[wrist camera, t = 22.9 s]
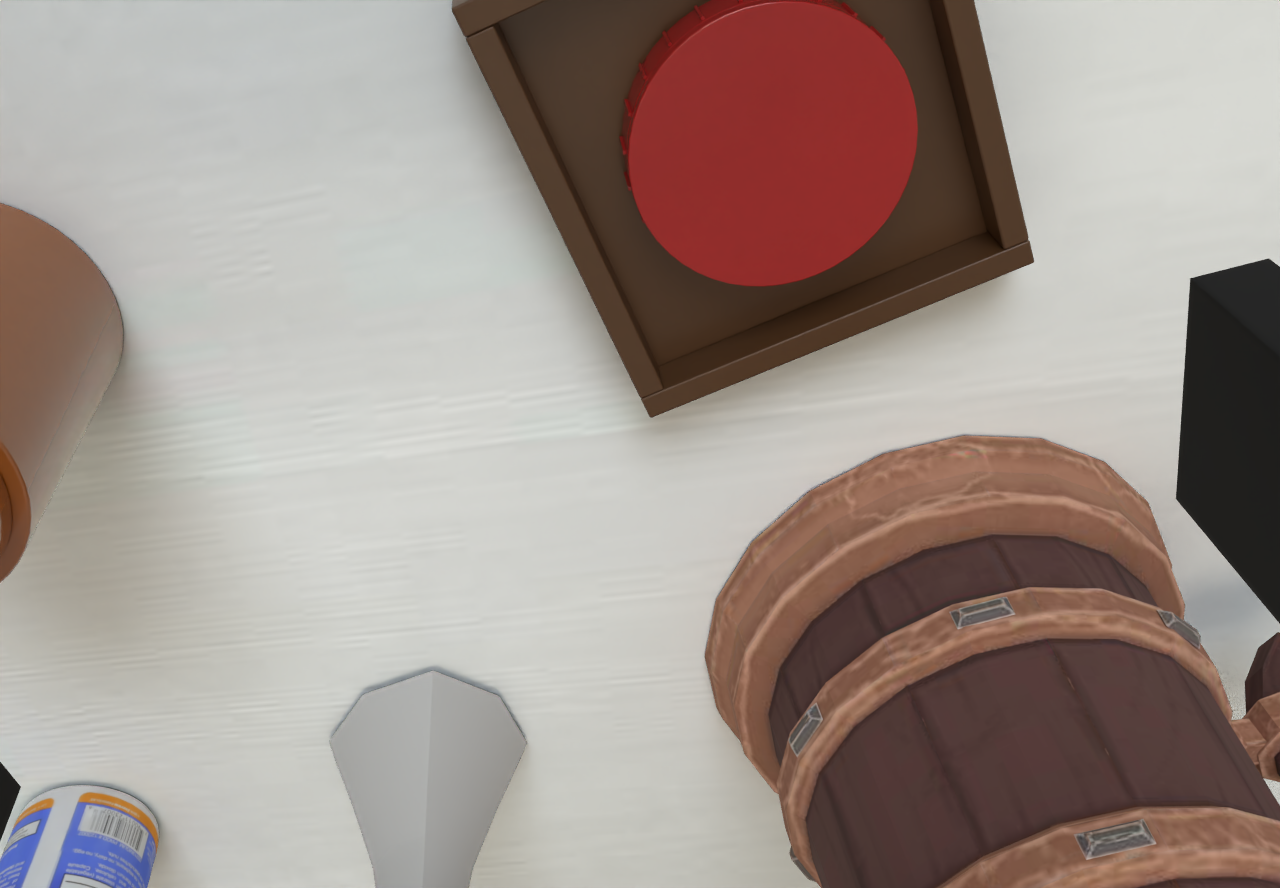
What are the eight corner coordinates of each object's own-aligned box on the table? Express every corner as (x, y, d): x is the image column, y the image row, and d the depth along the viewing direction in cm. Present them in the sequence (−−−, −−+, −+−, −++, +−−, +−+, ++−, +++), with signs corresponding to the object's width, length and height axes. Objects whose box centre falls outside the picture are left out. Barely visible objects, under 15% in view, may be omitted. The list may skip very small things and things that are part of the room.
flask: (558, 737, 48) (575, 965, 39) (425, 822, 49) (414, 1055, 41) (434, 640, 44) (424, 867, 36) (295, 735, 46) (255, 972, 38)
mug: (1210, 751, 53) (1544, 1252, 36) (705, 811, 51) (815, 1365, 35) (1330, 399, 42) (1874, 874, 26) (702, 459, 41) (856, 1008, 24)
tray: (452, -10, 31) (450, 9, 30) (901, -219, 30) (926, -212, 28) (643, 386, 39) (650, 418, 37) (1010, 236, 37) (1035, 263, 36)
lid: (863, 272, 37) (879, 298, 35) (603, 251, 35) (609, 277, 34) (934, 1, 32) (955, 18, 31) (640, -35, 31) (649, -19, 30)
